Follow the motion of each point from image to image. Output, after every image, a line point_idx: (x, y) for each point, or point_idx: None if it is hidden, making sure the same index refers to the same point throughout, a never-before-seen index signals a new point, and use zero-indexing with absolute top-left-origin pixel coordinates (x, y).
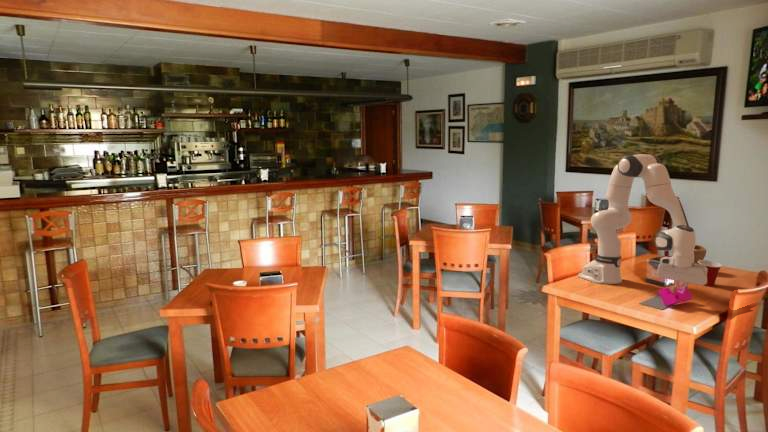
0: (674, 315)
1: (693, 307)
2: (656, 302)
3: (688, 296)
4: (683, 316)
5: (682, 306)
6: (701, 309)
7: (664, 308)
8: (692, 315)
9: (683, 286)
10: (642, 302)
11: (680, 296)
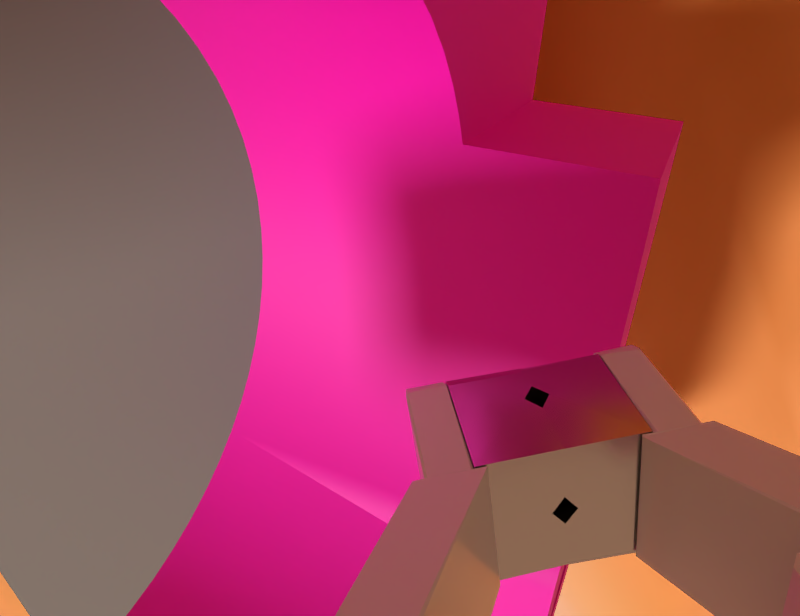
0: (596, 589)
1: (645, 65)
2: (128, 452)
3: (658, 208)
4: None
5: None
6: (795, 39)
7: None
8: (756, 426)
9: (722, 597)
10: (43, 612)
11: None
